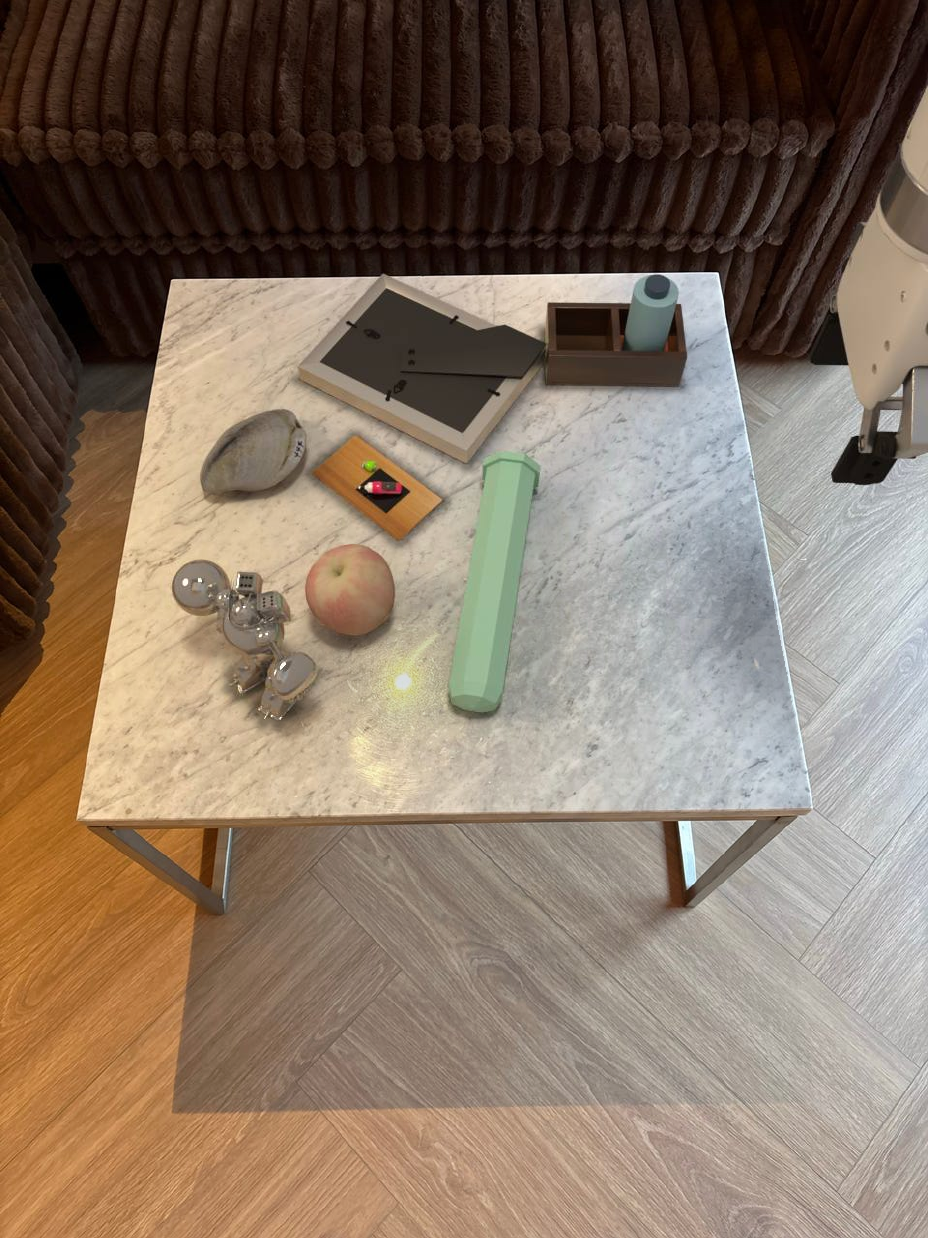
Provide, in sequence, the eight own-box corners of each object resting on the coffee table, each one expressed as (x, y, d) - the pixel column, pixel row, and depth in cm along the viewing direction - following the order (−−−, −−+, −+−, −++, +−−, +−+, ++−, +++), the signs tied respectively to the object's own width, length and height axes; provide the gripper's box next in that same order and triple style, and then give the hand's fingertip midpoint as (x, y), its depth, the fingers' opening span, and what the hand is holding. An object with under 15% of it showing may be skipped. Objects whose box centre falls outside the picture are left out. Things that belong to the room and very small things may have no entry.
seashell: (238, 529, 92) (226, 499, 87) (186, 479, 94) (172, 448, 90) (330, 457, 95) (323, 426, 91) (277, 412, 98) (268, 379, 94)
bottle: (660, 339, 101) (678, 266, 93) (663, 371, 99) (682, 299, 91) (619, 339, 102) (633, 266, 93) (621, 371, 100) (636, 299, 91)
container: (491, 695, 77) (530, 446, 88) (427, 695, 79) (472, 454, 90) (516, 722, 82) (550, 483, 92) (454, 722, 84) (494, 489, 95)
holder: (544, 332, 103) (547, 301, 99) (673, 333, 103) (681, 303, 99) (545, 385, 100) (548, 355, 96) (678, 386, 99) (687, 357, 95)
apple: (363, 560, 90) (354, 513, 83) (415, 613, 87) (411, 569, 80) (297, 610, 87) (281, 566, 80) (349, 666, 85) (338, 626, 78)
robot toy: (183, 641, 86) (130, 556, 73) (235, 597, 88) (193, 507, 75) (291, 747, 81) (256, 677, 68) (343, 699, 83) (319, 621, 70)
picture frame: (544, 362, 101) (384, 287, 106) (546, 343, 98) (382, 267, 104) (466, 464, 95) (300, 379, 100) (466, 446, 92) (296, 361, 97)
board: (356, 436, 97) (354, 426, 95) (442, 500, 93) (442, 492, 92) (311, 473, 95) (309, 464, 93) (398, 541, 91) (397, 533, 90)
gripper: (1088, 326, 43) (927, 531, 58) (1000, 84, 50) (878, 320, 66) (921, 324, 43) (803, 529, 58) (858, 83, 51) (769, 319, 66)
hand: (843, 418), depth 62 cm, fingers open, 9 cm apart
